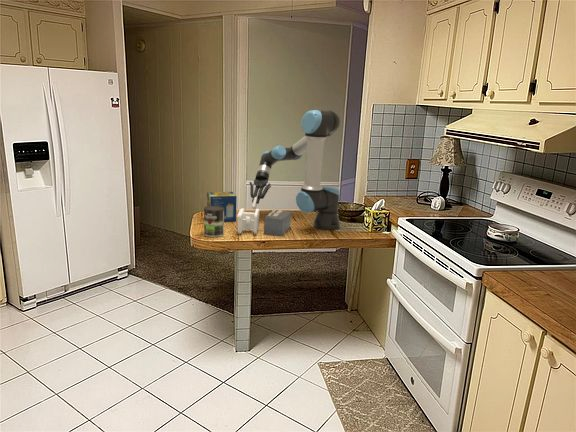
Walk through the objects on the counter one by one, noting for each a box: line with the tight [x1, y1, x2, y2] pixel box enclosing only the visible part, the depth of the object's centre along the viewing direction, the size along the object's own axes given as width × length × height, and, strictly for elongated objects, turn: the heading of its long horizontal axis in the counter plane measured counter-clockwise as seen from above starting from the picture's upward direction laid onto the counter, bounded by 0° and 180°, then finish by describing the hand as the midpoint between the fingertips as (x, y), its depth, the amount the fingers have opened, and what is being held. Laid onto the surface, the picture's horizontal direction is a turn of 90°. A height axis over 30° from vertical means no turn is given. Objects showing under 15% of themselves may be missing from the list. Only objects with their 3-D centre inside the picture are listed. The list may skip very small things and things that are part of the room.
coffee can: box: [203, 205, 225, 238], centre depth 227 cm, size 10×10×14 cm
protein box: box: [206, 191, 238, 223], centre depth 254 cm, size 10×15×16 cm
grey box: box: [263, 209, 292, 237], centre depth 239 cm, size 10×18×10 cm, turn 166°
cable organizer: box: [236, 207, 260, 235], centre depth 235 cm, size 15×11×12 cm
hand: (253, 207), depth 248 cm, fingers closed
